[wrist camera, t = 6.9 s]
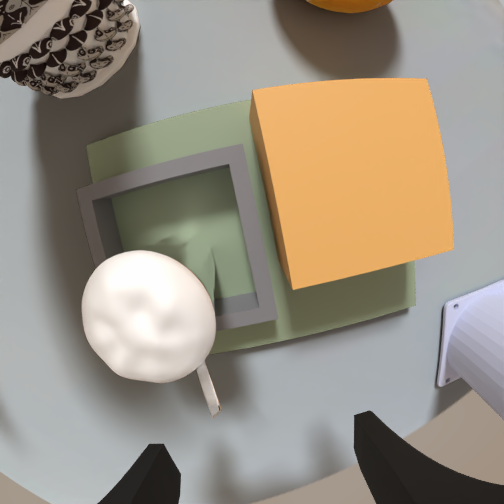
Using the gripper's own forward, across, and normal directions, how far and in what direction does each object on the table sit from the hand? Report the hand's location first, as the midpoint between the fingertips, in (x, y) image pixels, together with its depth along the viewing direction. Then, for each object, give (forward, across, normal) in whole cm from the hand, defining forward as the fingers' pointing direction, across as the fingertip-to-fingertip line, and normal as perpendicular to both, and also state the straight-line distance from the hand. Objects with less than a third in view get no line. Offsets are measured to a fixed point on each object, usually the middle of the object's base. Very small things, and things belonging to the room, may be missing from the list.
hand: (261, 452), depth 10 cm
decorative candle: (+10, +7, -22) cm, 25 cm away
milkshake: (+9, +2, -6) cm, 11 cm away
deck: (+10, -2, -7) cm, 12 cm away
